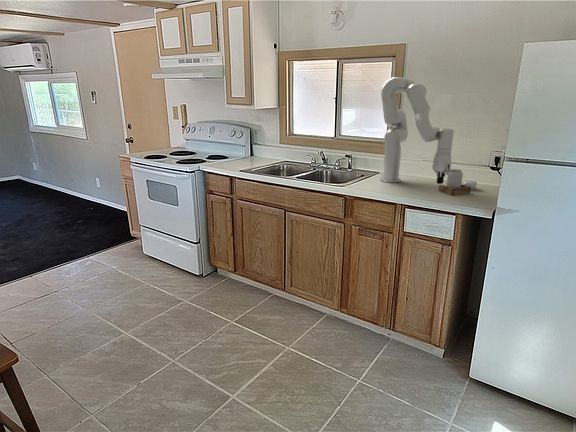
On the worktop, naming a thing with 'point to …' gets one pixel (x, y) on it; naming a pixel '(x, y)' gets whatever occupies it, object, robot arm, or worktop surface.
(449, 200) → the worktop surface
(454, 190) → the bay
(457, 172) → the can
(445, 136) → the robot arm
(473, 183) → the white small piece
